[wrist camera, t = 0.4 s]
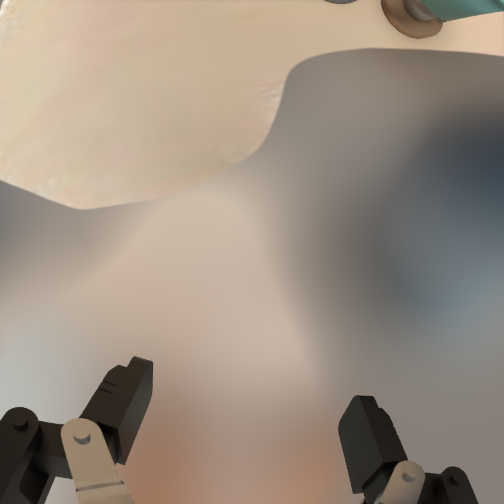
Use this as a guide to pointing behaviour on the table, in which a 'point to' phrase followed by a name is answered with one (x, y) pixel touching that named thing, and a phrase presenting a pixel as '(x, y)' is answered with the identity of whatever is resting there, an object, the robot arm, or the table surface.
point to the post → (412, 18)
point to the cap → (462, 8)
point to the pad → (340, 1)
